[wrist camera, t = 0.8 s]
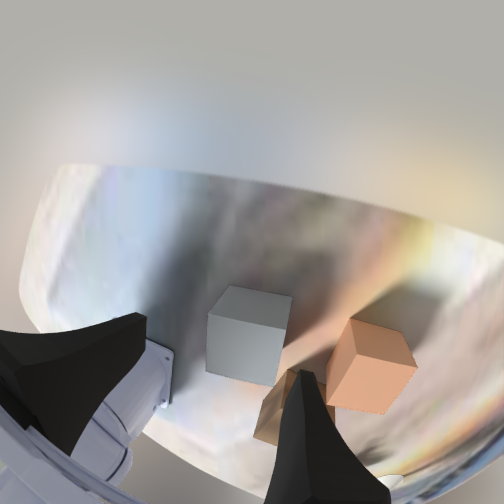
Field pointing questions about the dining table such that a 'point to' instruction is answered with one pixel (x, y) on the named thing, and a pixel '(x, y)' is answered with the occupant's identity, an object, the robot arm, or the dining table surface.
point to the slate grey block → (247, 335)
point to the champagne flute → (391, 480)
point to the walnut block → (280, 409)
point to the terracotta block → (368, 368)
